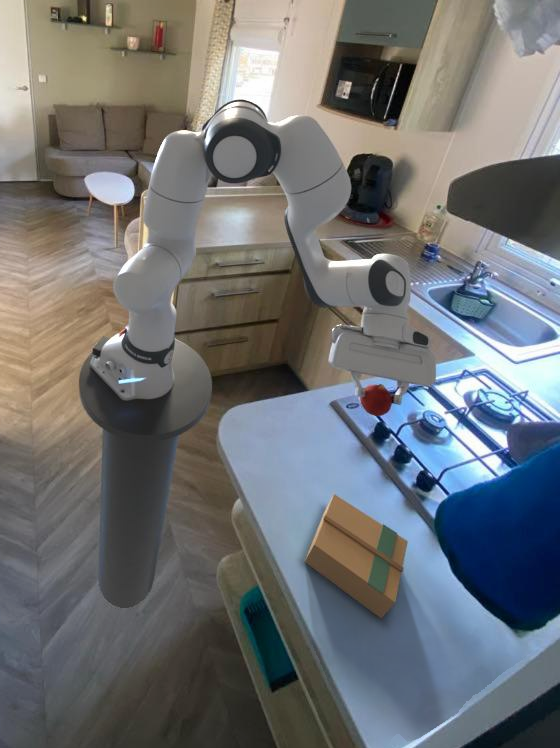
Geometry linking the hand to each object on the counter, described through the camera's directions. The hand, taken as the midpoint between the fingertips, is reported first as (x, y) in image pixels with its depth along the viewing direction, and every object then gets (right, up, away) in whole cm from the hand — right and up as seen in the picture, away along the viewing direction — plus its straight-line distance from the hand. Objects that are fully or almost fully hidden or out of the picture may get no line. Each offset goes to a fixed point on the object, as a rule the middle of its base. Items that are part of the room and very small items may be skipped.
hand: (377, 400), depth 85 cm
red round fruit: (-1, -4, +3) cm, 5 cm away
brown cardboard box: (-10, -25, -10) cm, 28 cm away
